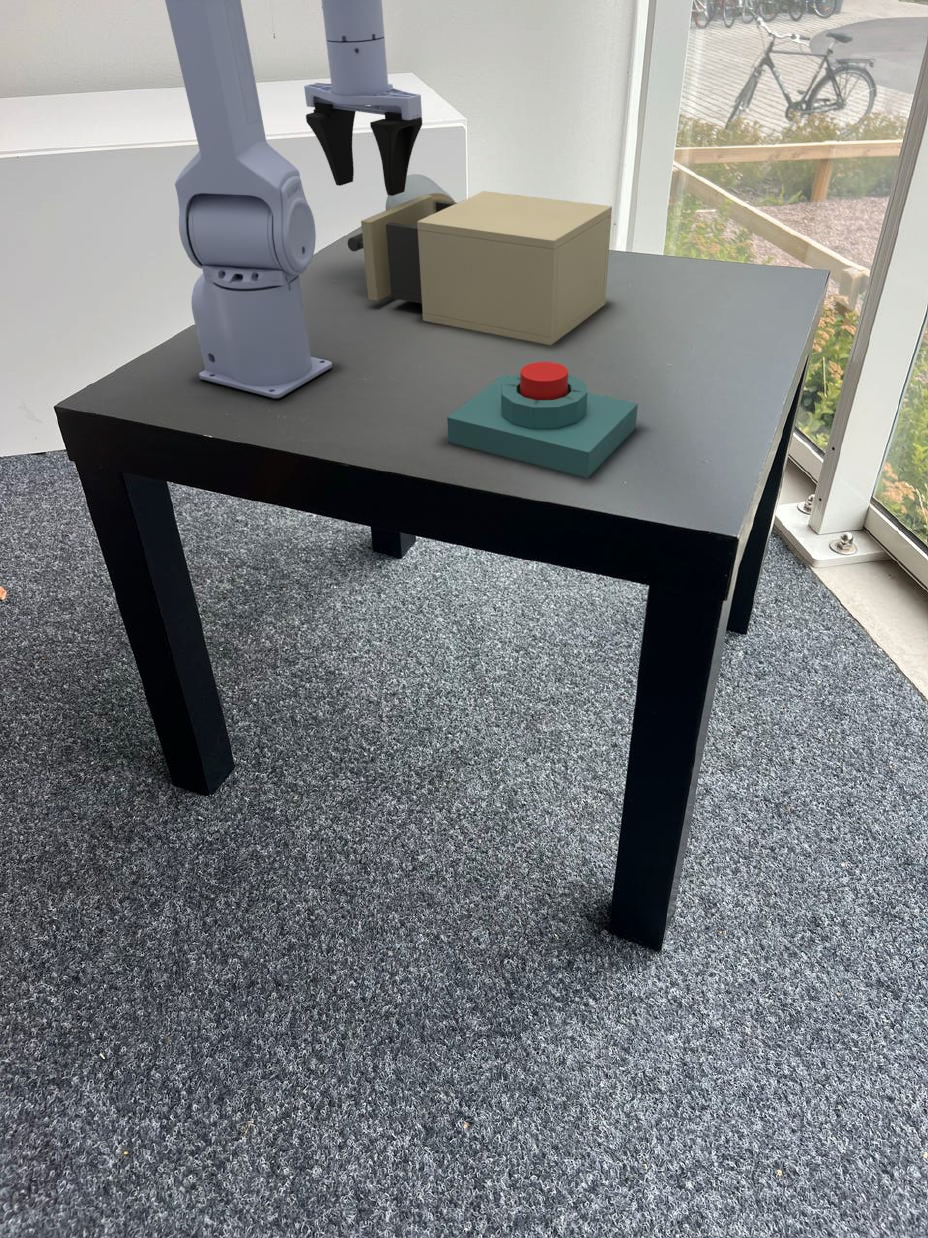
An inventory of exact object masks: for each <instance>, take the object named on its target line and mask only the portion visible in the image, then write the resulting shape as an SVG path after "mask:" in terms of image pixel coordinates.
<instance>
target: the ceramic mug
mask: <svg viewBox="0 0 928 1238" xmlns="http://www.w3.org/2000/svg"><path fill="white" fill-rule="evenodd" d="M421 195H431V196H432V198H433V214H435V213H436V202H437V201H447V202H455V203H457V202H456V201H455V200H454V198H453V197H452V196H451V195H450V193H448V192H447V191H445V190H444V189H443V188H442V187H440V185H439V184H437V183H436V182H435V180H432V178H430V177H428V176H427V175H423V174H419V173H412V174H407V177H406V184H405V191H404V192H402V193H400V194H397V195H394V196H390V195H387V197H386V201H385V211H386V210H388V209H391V208H393V207H395V206H398V205H400V204H402V203H405V202H407V201H409V200H412V199H414V198H417V197H419V196H421Z"/></svg>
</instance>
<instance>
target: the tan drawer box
mask: <svg viewBox="0 0 928 1238" xmlns="http://www.w3.org/2000/svg"><path fill="white" fill-rule="evenodd" d="M456 203H457V204H454V205H452V206H450V207H448V208H446V209H443V210H441V211H439V212H437V213H435V214H432V215H430V216H428V217H426V218H424V219H421V220H419V221H417V225H418V242H419V259H420V276H421V293H422V303H421V307H422V321H423V322H427V323H431V324H432V323H433V324H438V325H445V326H450V327H455V328H461V329H465V330H471V331H475V332H481V333H486V334H492V335H497V336H500V337H501V336H502V337H507V338H513V339H518V340H522V341H527V342H532V343H537V344H543V345H548V346H552V345H553V344H555V343H556V342H558V341H559V340H560V339H561V338H563V337H564V336H565V335H566V334H569V333H570V332H571V331H572V330H574V329H575V328H576V327H577V326H579V325H580V324H582V323H583V322H584V321H585V320H587V319H588V318H590V317H591V316H593V314H595V313H596V312H597V311H598V310H600V309H601V308H603V307H604V306H605V305H606V303H607V302H606V300H607V285H608V273H609V272H608V270H609V259H610V257H609V256H610V243H611V242H610V241H611V230H612V214H613V206H612V205H605V204H598V203H597V204H596V203H595V204H594V203H587V202H579V201H570V200H563V199H552V198H545V197H536V196H529V195H519V194H511V193H503V192H495V191H485V190H483V191H481V192H479V193H476V194H474V195H472V196H469V197H468V198H466V199H463V200H461V201H459V202H456Z"/></svg>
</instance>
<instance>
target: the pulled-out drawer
mask: <svg viewBox="0 0 928 1238" xmlns="http://www.w3.org/2000/svg"><path fill="white" fill-rule="evenodd" d="M455 202H456V201H455ZM455 202H447V201H437V202H436V213H437V212H439V211H441V210H443V209H446V208H448V207H450V206H452V205H454V204H457V203H458V202H456V203H455ZM432 214H433V198H432V196H431V195H421V196H419V197H417V198H414V199H412V200H409V201H407V202H405V203H402V204H400V205H398V206H395V207H393V208H391V209H388V210H386V209H385V210H384V211H381V212H379V213H377V214H374V215H372V216H370V217H367V218H365V219H362V220H361V221H360V223H361V225H360V226H361V232H360V233H358V234H355V235H354V236H351V237H349V238H348V239H347V248H348V249H349V250H350V251H351V252H358V251H359V250H362V249H363V255H364V257H363V258H364V267H365V277H366V287H367V297H368V300H371V301H376V302H378V301H380V300H382V299H384V298H385V297H387V296H391V297H390V298H391V299H394V300H395V299H396V300H401V301H407V302H411V303H417V304H422V293H421V276H420V259H419V242H418V225H417V221H419V220H421V219H424V218H426V217H428V216H430V215H432Z"/></svg>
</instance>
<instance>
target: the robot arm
mask: <svg viewBox="0 0 928 1238" xmlns="http://www.w3.org/2000/svg"><path fill="white" fill-rule="evenodd" d="M164 2H165V6H166V10H167V14H168V20H169V23H170V28H171V33H172V36H173V40H174V45H175V49H176V53H177V58H178V62H179V67H180V72H181V75H182V79H183V84H184V88H185V94H186V97H187V102H188V106H189V111H190V114H191V120H192V123H193V128H194V132H195V136H196V140H197V145H198V150H199V151H198V152H197V153H196V154H195V155H194V156H193V158H192V159H191V160H190V161H189V162H188V163H187V164H186V165H185V167H183V169H182V170H181V172H180V173H179V175H178V176H177V178H176V180H175V182H174V187H175V190H176V195H177V203H178V215H179V216H178V232H179V237H180V238H179V239H180V242H181V245H182V248H183V249H184V251H185V253H186V255H187V257H188V259H189V260H190V262H191V263H192V264H193V265H194V266H195V267H196V268H198V269H201V270H202V274H201V275H200V276H199V277H198V278H197V280H196V282H195V283H194V286H193V290H192V293H191V312H192V317H193V322H194V325H195V330H196V335H197V339H198V343H199V348H200V352H201V357H202V362H203V365H204V370H202V371H200V372H199V373H198V377H199V379H200V380H203V381H206V382H212V383H214V384H218V385H223V386H227V387H230V388H234V389H238V390H242V391H246V392H249V393H253V394H257V395H260V396H265V397H268V398H272V399H280V398H282V397H284V396H286V395H287V394H289V393H290V392H292V391H294V390H296V389H297V388H299V387H301V386H303V385H305V384H306V383H308V382H310V381H311V380H313V379H315V378H316V377H318V376H319V375H321V374H323V373H324V372H326V371H328V370H330V369H331V368H333V361H330V360H327V359H322V358H318V357H314V356H311V349H310V342H309V335H308V328H307V321H306V313H305V308H304V307H305V306H304V300H303V294H302V286H301V280H300V275H302V274H303V273H305V271H307V268H308V267H309V265H310V264H311V262H312V260H313V257H314V254H315V249H316V239H317V238H316V237H317V234H316V232H317V231H316V223H315V217H314V214H313V211H312V209H311V207H310V205H309V203H308V200H307V196H306V194H305V191H304V187H303V182H302V179H301V175H300V171H299V169H298V168H296V166H295V165H294V164H292V163H291V162H290V161H289V160H287V159H286V158H285V157H284V156H283V155H282V154H280V153H279V152H278V151H277V150H276V149H274V148H273V147H272V146H271V145H270V144H269V143H268V141H267V138H266V137H267V136H266V131H265V127H264V121H263V116H262V115H263V114H262V110H261V105H260V98H259V92H258V88H257V82H256V76H255V73H254V72H255V71H254V65H253V61H252V56H251V50H250V44H249V39H248V33H247V29H246V27H247V26H246V22H245V17H244V11H243V6H242V0H164ZM321 6H322V17H323V24H324V25H323V26H324V32H325V39H326V40H325V42H326V50H327V58H328V59H327V60H328V68H329V76H330V83H322V82H315V83H310V84H306V85H304V86H303V87H304V96H305V103H306V104H305V105H306V107H307V108H313V111H312V112H310V113H307V114H305V120H306V124H307V125H308V126H309V128H310V129H311V130H312V132H313V134H314V135H315V137H316V139H317V141H318V142H319V144H320V146H321V148H322V151H323V153H324V156H325V158H326V160H327V163H328V166H329V169H330V172H331V174H332V177H333V180H334V182H335V186H340V187H341V186H344V185H347V184H350V183H353V182H354V176H355V175H354V173H355V170H354V168H355V167H354V153H353V137H354V124H355V117H356V112H358V113H367V114H374V115H381V116H384V118H381V119H377V120H374V121H370V122H369V125H370V126H369V127H370V129H371V131H372V134H373V136H374V138H375V142H376V145H377V148H378V152H379V155H380V159H381V166H382V174H383V175H382V176H383V182H384V188H385V191H386V194H387V195H386V196H388V195H390V196H394V195H397V194H400V193H402V192H404V191H405V184H406V177H407V176H408V170H409V165H410V159H411V156H412V152H413V149H414V147H415V146H414V145H415V143H416V140H417V138H418V135H419V134H420V130H421V128H422V126H423V109H422V95H421V94H419V93H412V92H408V91H404V90H401V89H398V88H395V87H394V85H393V83H389V77H388V76H389V75H388V65H387V54H386V53H387V51H386V50H387V49H386V38H385V27H384V26H385V25H384V23H385V22H384V13H383V12H384V11H383V1H382V0H321Z"/></svg>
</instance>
